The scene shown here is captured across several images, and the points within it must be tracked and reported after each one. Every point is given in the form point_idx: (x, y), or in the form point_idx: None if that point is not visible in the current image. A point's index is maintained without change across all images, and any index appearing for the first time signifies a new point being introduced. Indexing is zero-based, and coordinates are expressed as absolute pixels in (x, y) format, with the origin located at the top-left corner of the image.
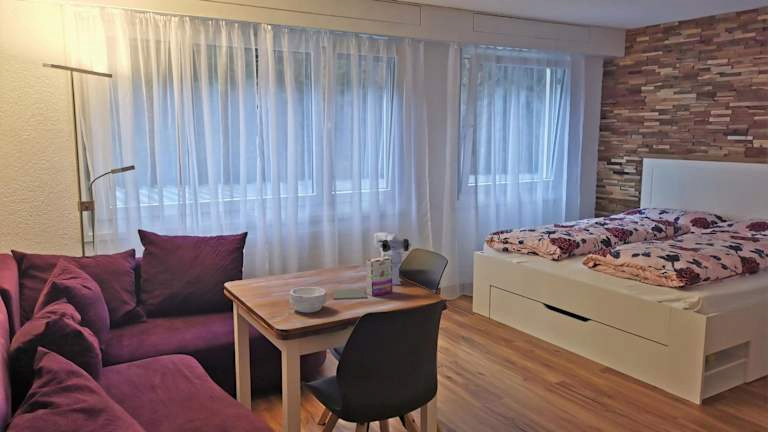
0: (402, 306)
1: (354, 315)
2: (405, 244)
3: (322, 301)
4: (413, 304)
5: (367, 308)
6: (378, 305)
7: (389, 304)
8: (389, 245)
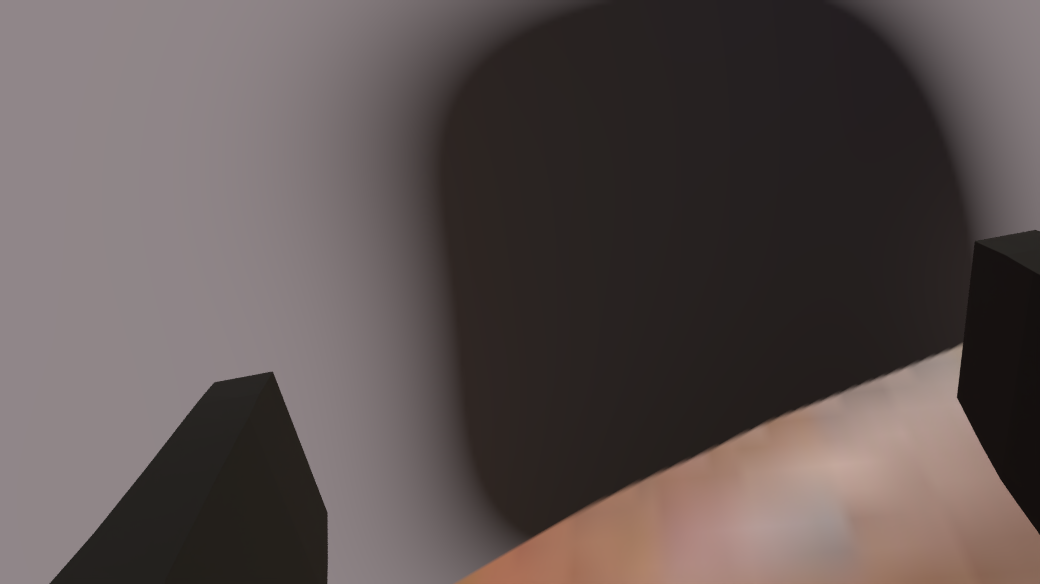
0: (630, 504)
1: None
2: (230, 425)
3: None
4: (505, 572)
5: None
6: (910, 507)
7: (786, 549)
8: (1035, 253)
